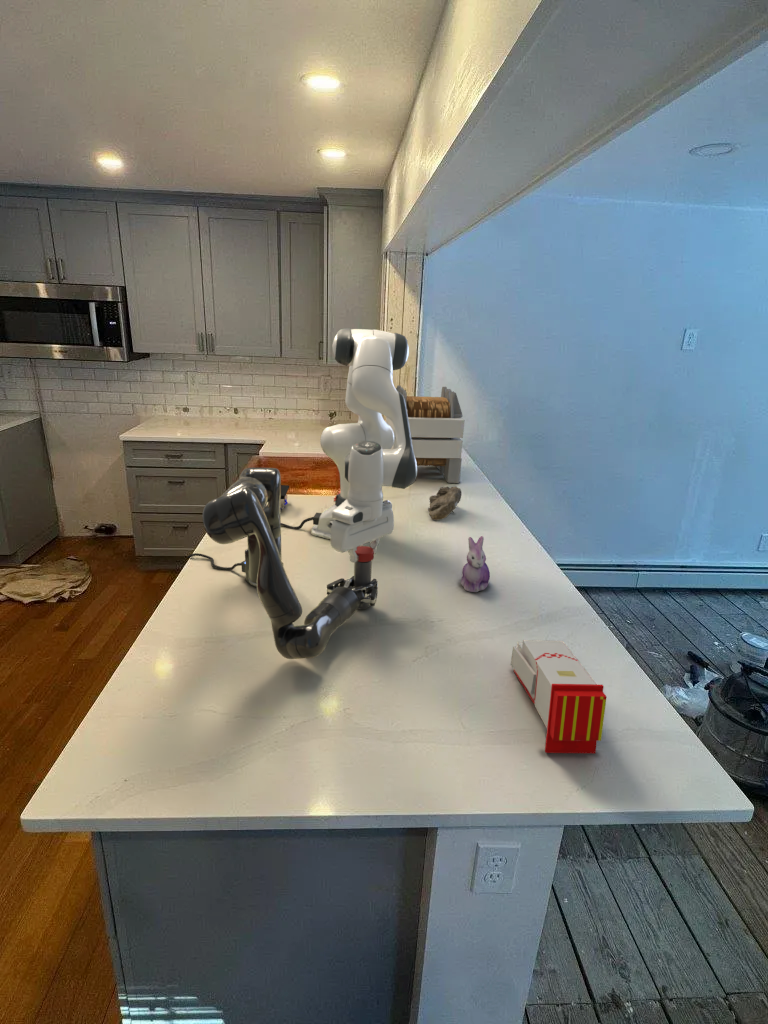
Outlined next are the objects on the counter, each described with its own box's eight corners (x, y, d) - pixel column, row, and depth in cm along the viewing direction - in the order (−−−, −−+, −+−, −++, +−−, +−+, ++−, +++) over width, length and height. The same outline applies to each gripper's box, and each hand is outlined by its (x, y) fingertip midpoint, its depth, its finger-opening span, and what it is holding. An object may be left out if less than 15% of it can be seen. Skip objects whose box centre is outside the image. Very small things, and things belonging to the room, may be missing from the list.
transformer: (382, 463, 289) (386, 382, 275) (445, 464, 293) (451, 384, 279) (390, 482, 257) (394, 392, 243) (460, 483, 261) (468, 394, 247)
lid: (357, 552, 150) (357, 544, 149) (376, 555, 148) (376, 547, 147) (349, 559, 145) (349, 551, 144) (369, 563, 143) (369, 555, 142)
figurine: (471, 596, 158) (477, 546, 153) (451, 580, 166) (455, 533, 161) (498, 590, 162) (504, 541, 157) (477, 575, 171) (482, 529, 166)
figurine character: (285, 517, 214) (290, 500, 227) (284, 499, 210) (289, 483, 224) (267, 517, 213) (273, 500, 227) (266, 498, 210) (272, 482, 223)
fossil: (424, 492, 232) (454, 472, 227) (437, 509, 235) (468, 490, 230) (422, 516, 212) (456, 495, 207) (437, 534, 215) (470, 514, 210)
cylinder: (370, 601, 153) (372, 548, 148) (369, 609, 149) (371, 556, 144) (353, 600, 153) (355, 548, 148) (352, 609, 149) (354, 555, 144)
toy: (559, 623, 127) (616, 692, 98) (553, 678, 130) (607, 761, 101) (505, 622, 127) (547, 691, 98) (501, 677, 130) (540, 760, 100)
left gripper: (363, 601, 133) (391, 572, 147) (310, 587, 138) (343, 561, 153) (362, 628, 135) (390, 598, 150) (310, 614, 140) (342, 586, 155)
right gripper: (382, 495, 151) (380, 543, 156) (326, 513, 136) (326, 565, 141) (401, 501, 147) (398, 550, 152) (345, 520, 132) (344, 573, 137)
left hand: (366, 579), depth 151 cm, fingers closed on cylinder, 4 cm apart
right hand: (363, 557), depth 146 cm, fingers closed on lid, 5 cm apart
